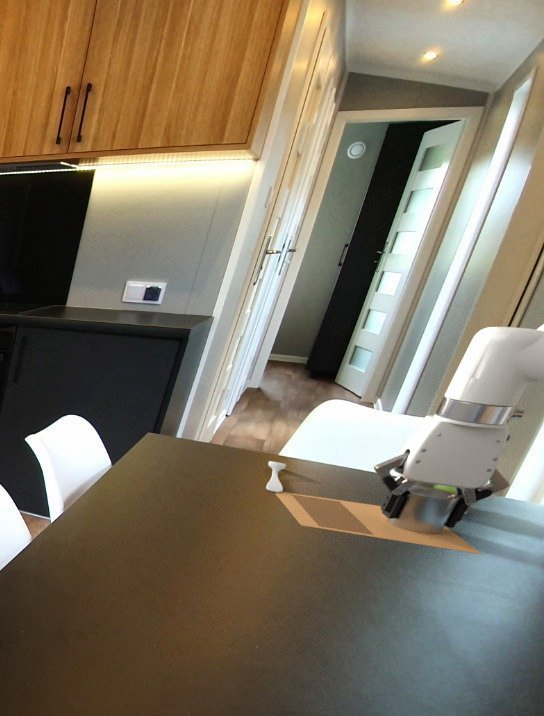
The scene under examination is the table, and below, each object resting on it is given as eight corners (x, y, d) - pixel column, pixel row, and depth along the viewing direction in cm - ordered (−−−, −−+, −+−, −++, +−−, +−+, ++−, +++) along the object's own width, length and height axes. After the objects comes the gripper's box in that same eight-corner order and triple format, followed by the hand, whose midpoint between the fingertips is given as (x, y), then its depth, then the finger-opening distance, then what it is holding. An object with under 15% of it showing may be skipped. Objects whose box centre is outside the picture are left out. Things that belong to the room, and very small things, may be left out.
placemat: (426, 514, 110) (427, 512, 110) (481, 556, 95) (483, 554, 95) (272, 492, 118) (273, 490, 118) (301, 526, 103) (301, 525, 103)
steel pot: (415, 511, 110) (432, 479, 108) (449, 537, 100) (468, 502, 98) (367, 504, 113) (382, 472, 110) (395, 529, 103) (413, 494, 100)
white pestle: (259, 501, 119) (265, 488, 118) (265, 464, 133) (270, 452, 132) (278, 505, 117) (284, 491, 116) (282, 467, 131) (287, 455, 130)
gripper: (536, 414, 96) (475, 522, 103) (388, 400, 102) (341, 502, 110) (568, 426, 90) (500, 539, 97) (409, 410, 96) (357, 517, 104)
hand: (416, 519), depth 104 cm, fingers closed on steel pot, 6 cm apart
